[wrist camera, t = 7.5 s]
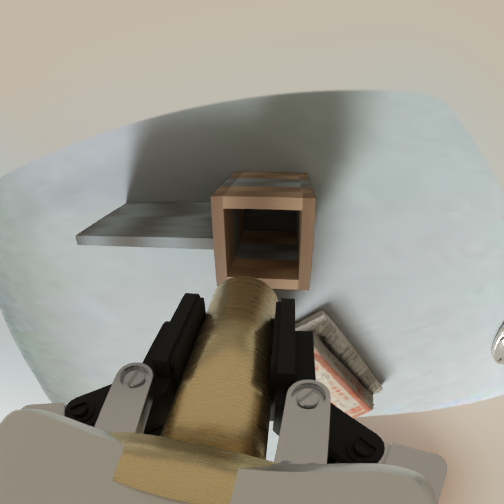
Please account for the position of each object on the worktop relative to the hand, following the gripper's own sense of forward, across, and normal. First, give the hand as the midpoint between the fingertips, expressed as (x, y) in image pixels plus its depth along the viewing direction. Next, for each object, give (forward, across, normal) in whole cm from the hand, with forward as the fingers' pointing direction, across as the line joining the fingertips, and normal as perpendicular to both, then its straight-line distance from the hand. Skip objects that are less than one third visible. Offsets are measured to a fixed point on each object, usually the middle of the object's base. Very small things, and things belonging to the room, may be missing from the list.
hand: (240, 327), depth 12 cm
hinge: (+17, +6, +6) cm, 19 cm away
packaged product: (+18, -8, +22) cm, 29 cm away
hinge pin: (+2, 0, 0) cm, 2 cm away
